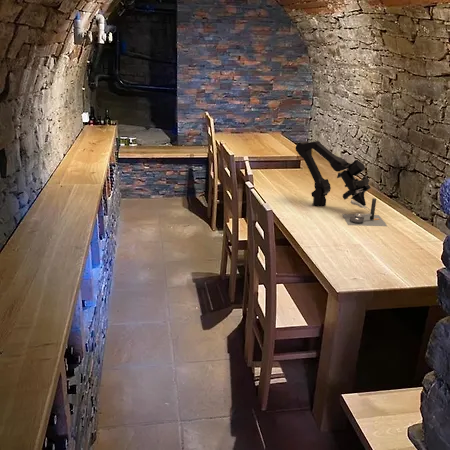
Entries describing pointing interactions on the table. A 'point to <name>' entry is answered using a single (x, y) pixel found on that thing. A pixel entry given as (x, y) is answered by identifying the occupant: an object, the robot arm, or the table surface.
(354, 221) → the crank handle
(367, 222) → the level stand
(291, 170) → the table surface
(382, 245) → the table surface
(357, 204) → the adjustable wrench
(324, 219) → the table surface
